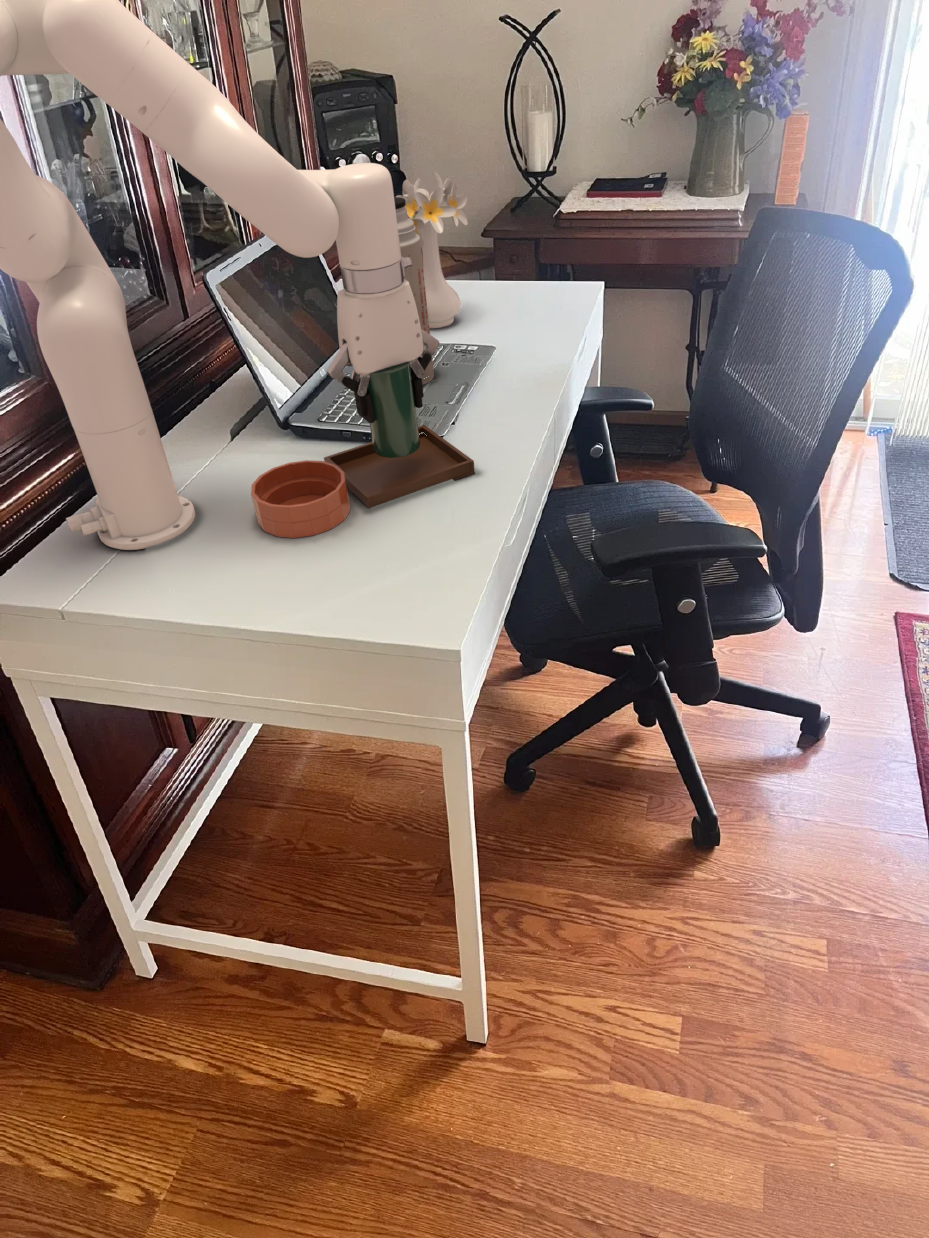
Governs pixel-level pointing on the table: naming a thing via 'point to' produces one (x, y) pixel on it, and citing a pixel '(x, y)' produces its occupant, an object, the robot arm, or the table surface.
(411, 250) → the thermos bottle
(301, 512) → the bowl
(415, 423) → the bottle
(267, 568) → the table surface
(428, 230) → the flower vase
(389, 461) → the tray
